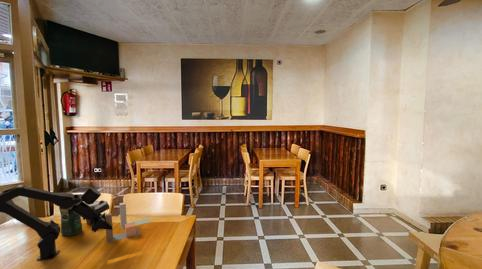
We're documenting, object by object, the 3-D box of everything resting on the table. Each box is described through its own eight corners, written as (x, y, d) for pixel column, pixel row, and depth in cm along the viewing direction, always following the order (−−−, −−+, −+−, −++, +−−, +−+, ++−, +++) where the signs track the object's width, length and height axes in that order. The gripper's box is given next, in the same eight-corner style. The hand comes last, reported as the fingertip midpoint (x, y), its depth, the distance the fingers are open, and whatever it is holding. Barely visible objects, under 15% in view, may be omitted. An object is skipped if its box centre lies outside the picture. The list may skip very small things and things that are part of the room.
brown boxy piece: (106, 244, 123) (105, 217, 121) (106, 238, 129) (104, 212, 127) (140, 236, 131) (139, 211, 129) (138, 230, 137) (137, 206, 135)
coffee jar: (85, 230, 138) (83, 198, 137) (73, 237, 131) (70, 203, 129) (70, 228, 140) (68, 197, 138) (58, 235, 132) (55, 202, 131)
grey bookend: (121, 230, 138) (120, 206, 136) (120, 225, 144) (119, 202, 142) (151, 223, 146) (150, 200, 144) (148, 219, 152) (148, 197, 150)
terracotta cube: (126, 237, 128) (125, 228, 128) (125, 233, 132) (124, 224, 132) (136, 234, 131) (135, 225, 130) (135, 230, 135) (134, 222, 134)
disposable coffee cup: (79, 224, 145) (78, 205, 144) (93, 218, 154) (92, 199, 153) (92, 226, 142) (90, 207, 141) (105, 220, 151) (104, 201, 150)
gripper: (98, 204, 114) (125, 221, 121) (98, 192, 130) (122, 208, 137) (79, 224, 111) (108, 240, 118) (81, 210, 127) (107, 225, 134)
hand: (112, 227), depth 127 cm, fingers closed on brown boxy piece, 3 cm apart
